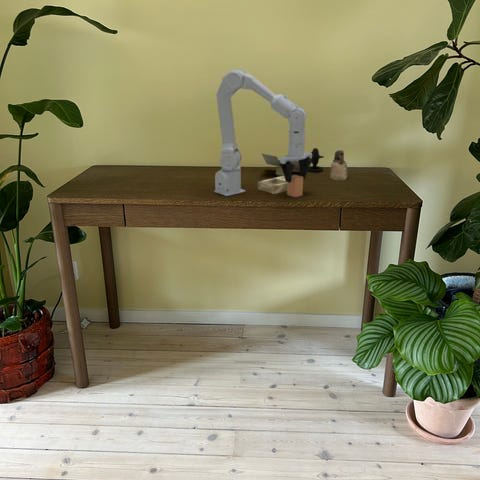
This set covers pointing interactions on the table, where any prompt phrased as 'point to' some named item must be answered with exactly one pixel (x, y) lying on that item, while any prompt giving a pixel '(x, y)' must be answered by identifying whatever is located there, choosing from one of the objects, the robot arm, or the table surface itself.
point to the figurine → (338, 167)
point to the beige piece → (273, 185)
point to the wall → (274, 161)
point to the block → (295, 186)
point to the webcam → (315, 161)
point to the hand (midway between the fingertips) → (295, 180)
